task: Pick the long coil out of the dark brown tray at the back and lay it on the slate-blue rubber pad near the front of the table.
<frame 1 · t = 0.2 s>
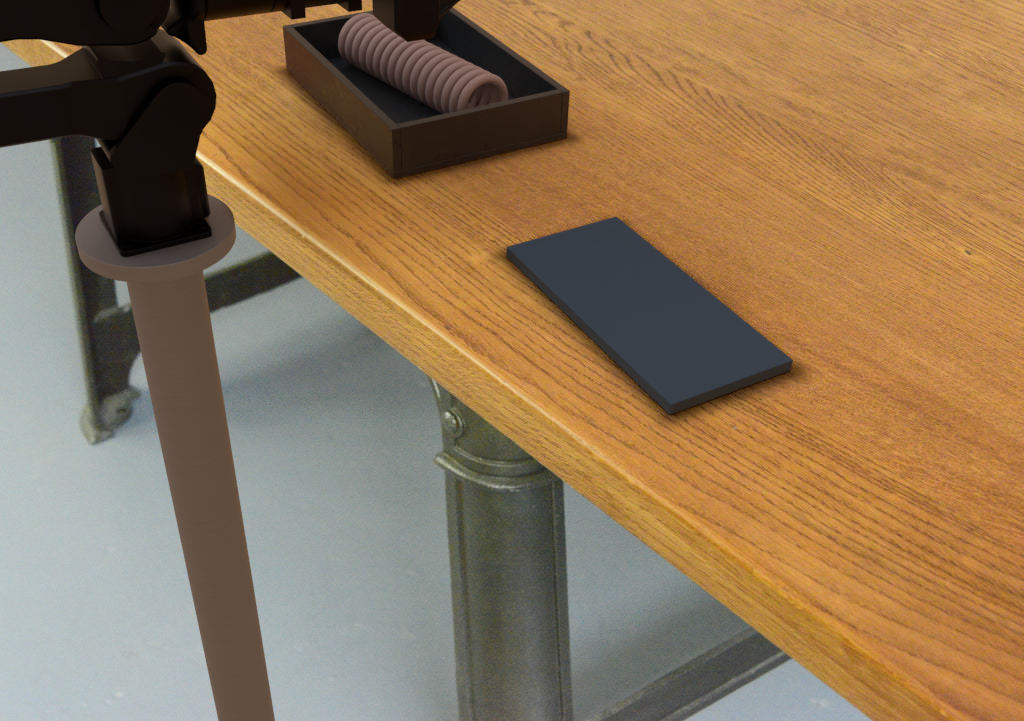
dark brown tray: (420, 102, 97), on the table
coil: (420, 98, 97), resting on dark brown tray
pad: (639, 309, 74), on the table
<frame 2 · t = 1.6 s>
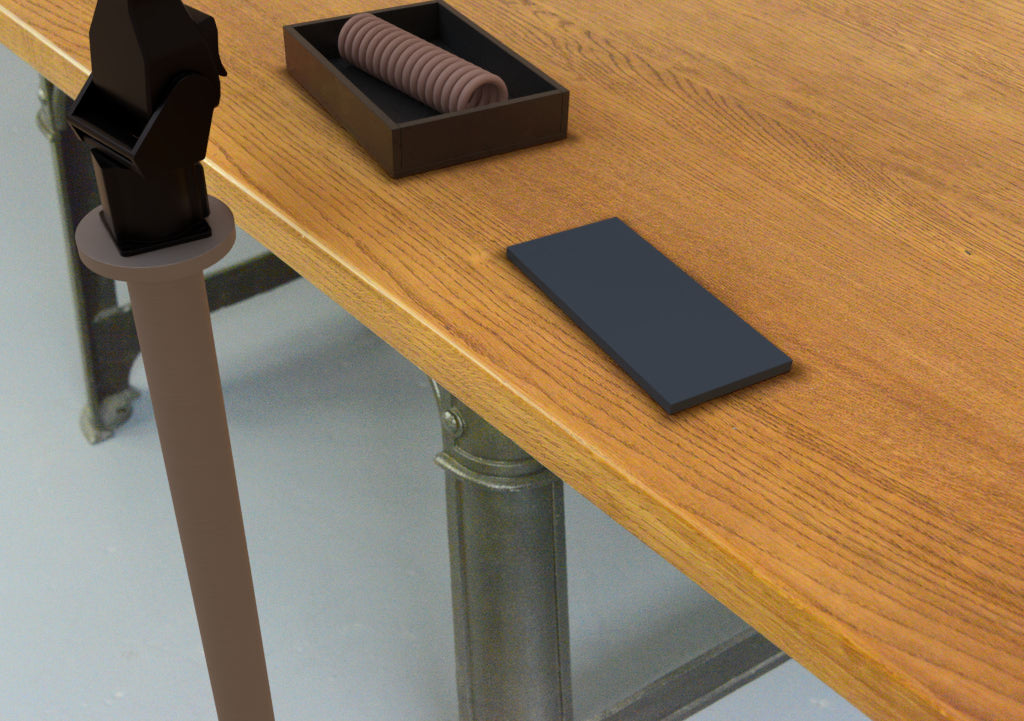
nothing on the table moved.
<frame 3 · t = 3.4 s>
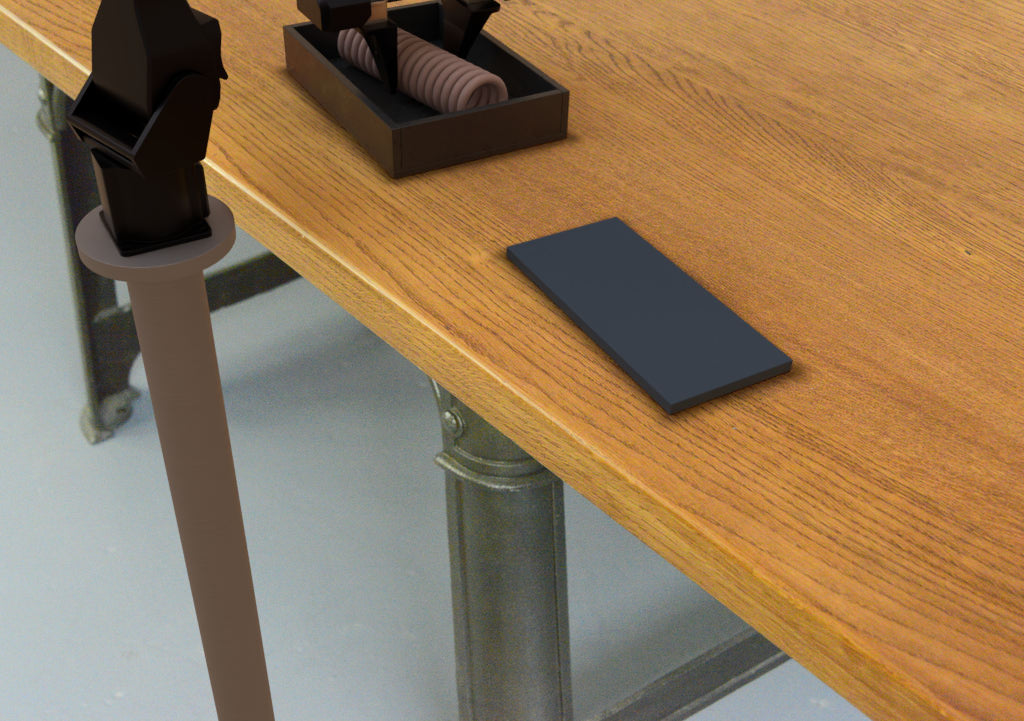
hand: (420, 86, 97), 1 cm above the table, tool pointing down, fingers closed on coil, 5 cm apart
coil: (420, 98, 97), resting on dark brown tray, touching gripper
when the fingers open (2 cm above the table, at t = 10.1 s): coil stays where it is, resting on pad.
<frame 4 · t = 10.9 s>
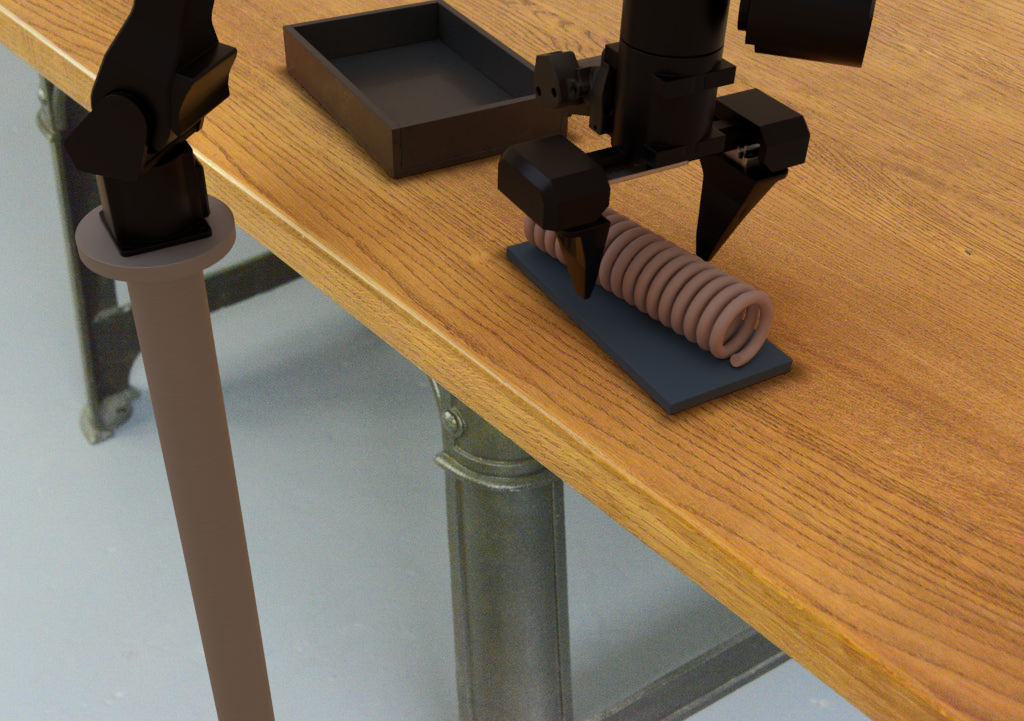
hand: (644, 277, 72), 3 cm above the table, tool pointing down, fingers open, 9 cm apart
coil: (638, 301, 74), point 1 cm above the table, touching pad
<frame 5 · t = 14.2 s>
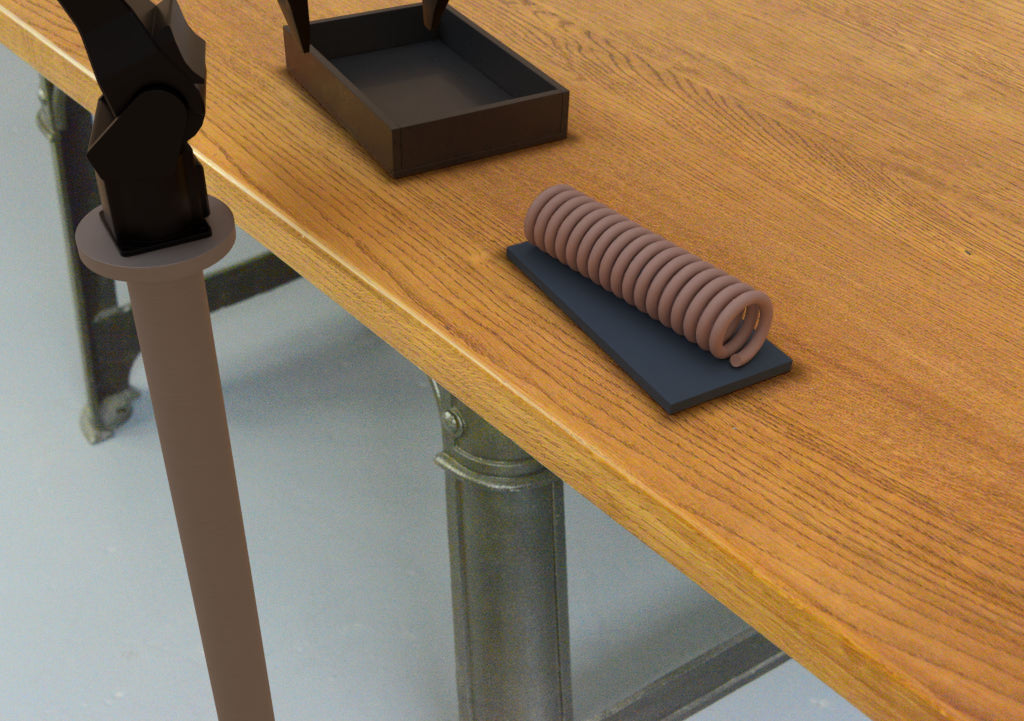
hand: (368, 39, 77), 12 cm above the table, tool pointing down, fingers open, 9 cm apart
nothing on the table moved.
at the end: coil inside the target area on the pad (0.1 cm from its centre), point 0.6 cm above the pad's base; coil touching pad; the gripper is holding nothing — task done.
